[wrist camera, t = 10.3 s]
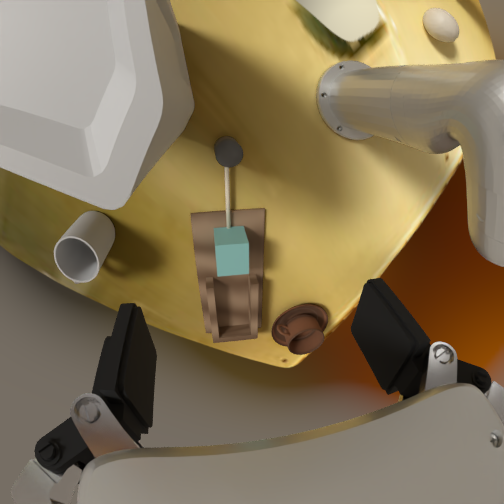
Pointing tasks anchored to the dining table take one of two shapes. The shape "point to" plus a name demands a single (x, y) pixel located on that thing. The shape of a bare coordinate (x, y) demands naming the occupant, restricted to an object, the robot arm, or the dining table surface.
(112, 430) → the robot arm
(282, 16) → the dining table surface
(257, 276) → the lane
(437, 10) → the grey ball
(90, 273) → the cup
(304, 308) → the cup and saucer
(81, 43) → the tall white carton
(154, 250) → the dining table surface
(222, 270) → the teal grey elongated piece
